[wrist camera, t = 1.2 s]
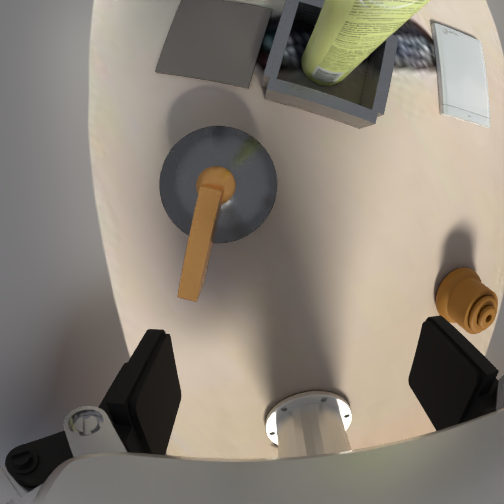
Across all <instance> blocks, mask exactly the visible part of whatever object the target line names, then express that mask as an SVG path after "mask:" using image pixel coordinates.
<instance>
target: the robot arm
mask: <svg viewBox="0 0 504 504" xmlns="http://www.w3.org/2000/svg"><path fill="white" fill-rule="evenodd" d="M497 374H498V370H497V369H496V368H495V367H494V366H493V365H492V364H491V363H490V362H489V361H488V360H487V359H486V358H485V356H484V355H483V354H482V353H480V352H479V351H478V350H477V349H476V348H475V347H474V346H473V345H472V344H471V343H470V342H469V341H468V340H467V339H466V338H465V337H464V336H463V335H462V334H461V333H460V332H459V331H458V330H457V329H456V328H455V327H454V326H452V325H451V324H450V323H449V322H448V321H447V320H446V319H445V318H444V317H443V316H433V317H428V318H427V319H426V321H425V322H423V324H422V328H421V333H420V337H419V341H418V345H417V349H416V353H415V357H414V361H413V364H412V368H411V371H410V375H409V385H410V387H411V389H412V390H413V392H414V394H415V395H416V397H417V399H418V400H419V402H420V404H421V405H422V407H423V409H424V410H425V412H426V414H427V415H428V417H429V419H430V420H431V422H432V424H433V425H434V427H435V429H436V431H435V432H432V433H428V434H425V435H421V436H417V437H413V438H409V439H405V440H401V441H397V442H392V443H388V444H383V445H378V446H373V447H368V448H362V449H356V450H351V447H350V443H349V440H348V436H347V433H346V430H347V428H348V427H349V425H350V423H351V419H352V412H351V409H350V406H349V404H348V403H347V401H346V400H345V399H344V398H342V397H341V396H339V395H337V394H334V393H331V392H325V391H310V392H304V393H299V394H296V395H293V396H291V397H288V398H286V399H284V400H282V401H281V402H279V403H278V404H277V405H275V406H274V407H273V408H272V410H271V411H270V412H269V414H268V415H267V418H266V424H265V428H266V433H267V435H268V437H269V438H270V439H271V441H272V442H274V443H275V444H277V445H278V456H279V458H262V459H224V458H197V457H182V456H170V455H165V454H166V450H167V446H168V443H169V439H170V436H171V432H172V429H173V425H174V422H175V418H176V415H177V411H178V408H179V404H180V401H181V389H180V384H179V379H178V374H177V369H176V364H175V359H174V353H173V348H172V342H171V337H170V334H166V333H165V331H164V330H157V329H148V330H147V331H146V333H145V335H144V336H143V338H142V340H141V341H140V343H139V345H138V346H137V348H136V350H135V351H134V353H133V355H132V356H131V358H130V360H129V362H128V363H125V364H124V365H123V367H122V368H121V370H120V371H119V373H118V375H117V376H116V378H115V380H114V381H113V383H112V385H111V387H110V388H109V390H108V392H107V394H106V395H105V397H104V399H103V400H102V402H101V404H100V406H99V407H94V406H85V407H80V408H77V409H75V410H74V411H72V412H70V413H69V414H68V415H67V417H66V418H65V421H64V430H65V431H62V432H59V433H56V434H53V435H51V436H48V437H45V438H42V439H39V440H36V441H33V442H30V443H27V444H23V445H20V446H18V447H16V448H14V449H12V450H11V451H10V452H9V454H8V455H7V457H6V461H5V466H4V467H3V468H1V467H0V504H504V375H503V376H501V378H500V379H499V380H497V379H496V376H497Z"/></svg>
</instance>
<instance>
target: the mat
mask: <svg viewBox="0 0 504 504" xmlns="http://www.w3.org/2000/svg"><path fill="white" fill-rule="evenodd" d="M271 13H272V9H269V8H265V7H260V6H255V5H249V4H243V3H237V2H231V1H224V0H181V3H180V5H179V7H178V10H177V12H176V15H175V17H174V20H173V22H172V25H171V28H170V30H169V33H168V36H167V38H166V41H165V44H164V47H163V50H162V52H161V55H160V58H159V61H158V64H157V67H156V70H155V72H156V73H162V74H170V75H177V76H184V77H191V78H197V79H203V80H209V81H214V82H220V83H225V84H230V85H234V86H239V87H244V88H249V85H250V81H251V78H252V74H253V71H254V68H255V64H256V61H257V58H258V54H259V51H260V48H261V44H262V41H263V38H264V35H265V32H266V29H267V25H268V22H269V19H270V16H271Z"/></svg>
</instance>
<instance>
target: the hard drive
mask: <svg viewBox="0 0 504 504" xmlns="http://www.w3.org/2000/svg"><path fill="white" fill-rule="evenodd" d="M431 28H432V34H433V41H434V48H435V56H436V65H437V75H438V87H439V103H440V115H444V116H448V117H452V118H455V119H459V120H462V121H466V122H469V123H472V124H476V125H479V126H482V127H485V128H490V109H489V94H488V83H487V75H486V67H485V60H484V54H483V48H482V43H481V41H479V40H477V39H475V38H472V37H470V36H468V35H465V34H463V33H461V32H458V31H456V30H453V29H451V28H448V27H446V26H443V25H440V24H437V23H433V24H431Z"/></svg>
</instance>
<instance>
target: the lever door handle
mask: <svg viewBox="0 0 504 504" xmlns="http://www.w3.org/2000/svg"><path fill="white" fill-rule="evenodd" d="M276 192H277V176H276V171H275V168H274V165H273V162H272V160H271V158H270V156H269V154H268V153H267V151H266V150H265V148H264V147H263V146H262V145H261V144H260V143H259V142H258V141H257V140H256V139H255V138H253V137H252V136H250V135H249V134H247V133H245V132H243V131H241V130H238V129H235V128H231V127H225V126H212V127H206V128H202V129H199V130H196V131H194V132H192V133H190V134H188V135H186V136H185V137H184V138H182V139H181V140H180V141H179V142H178V143H177V144H176V145H175V146H174V147H173V148H172V149H171V151H170V152H169V154H168V155H167V157H166V159H165V161H164V164H163V166H162V170H161V174H160V196H161V200H162V203H163V206H164V208H165V210H166V212H167V214H168V216H169V217H170V219H171V220H172V222H173V223H174V224H175V225H176V226H177V227H178V228H179V229H181V230H182V231H183V232H184V233H186V234H187V235H189V239H188V244H187V249H186V254H185V259H184V264H183V269H182V274H181V280H180V285H179V291H178V296H177V297H179V298H183V299H187V300H191V301H195V302H197V299H198V297H199V294H200V292H201V289H202V287H203V284H204V279H205V275H206V270H207V266H208V261H209V257H210V252H211V248H212V244H213V243H227V242H232V241H235V240H238V239H241V238H243V237H245V236H247V235H249V234H250V233H252V232H253V231H255V230H256V229H257V228H258V227H259V226H260V225H261V224H262V223H263V222H264V221H265V219H266V218H267V216H268V215H269V213H270V211H271V209H272V207H273V204H274V201H275V197H276Z"/></svg>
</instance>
